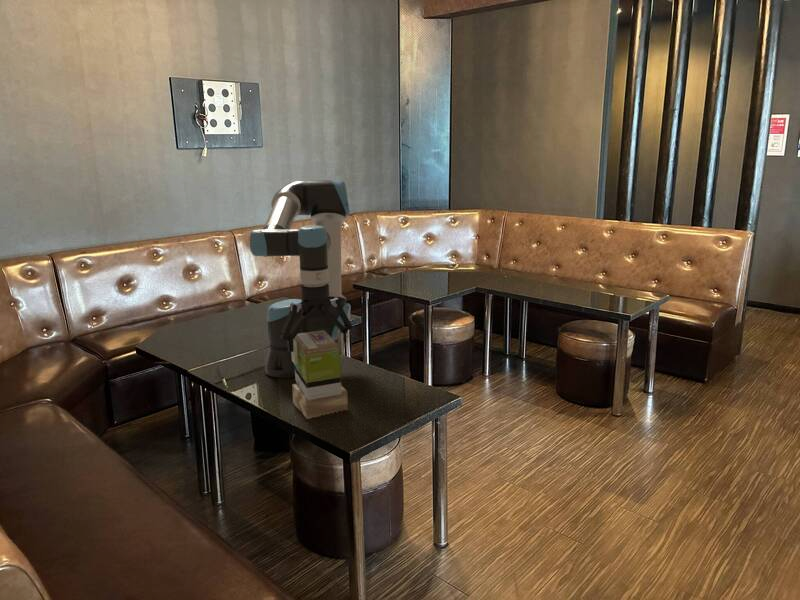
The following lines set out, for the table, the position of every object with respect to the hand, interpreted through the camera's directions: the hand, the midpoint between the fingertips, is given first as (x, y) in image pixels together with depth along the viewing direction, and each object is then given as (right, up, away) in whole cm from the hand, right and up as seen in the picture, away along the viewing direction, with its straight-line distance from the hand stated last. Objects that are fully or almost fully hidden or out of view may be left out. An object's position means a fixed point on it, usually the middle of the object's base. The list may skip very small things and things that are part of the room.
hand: (318, 358), depth 168 cm
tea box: (0, -9, +2) cm, 9 cm away
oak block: (0, -14, +4) cm, 15 cm away
